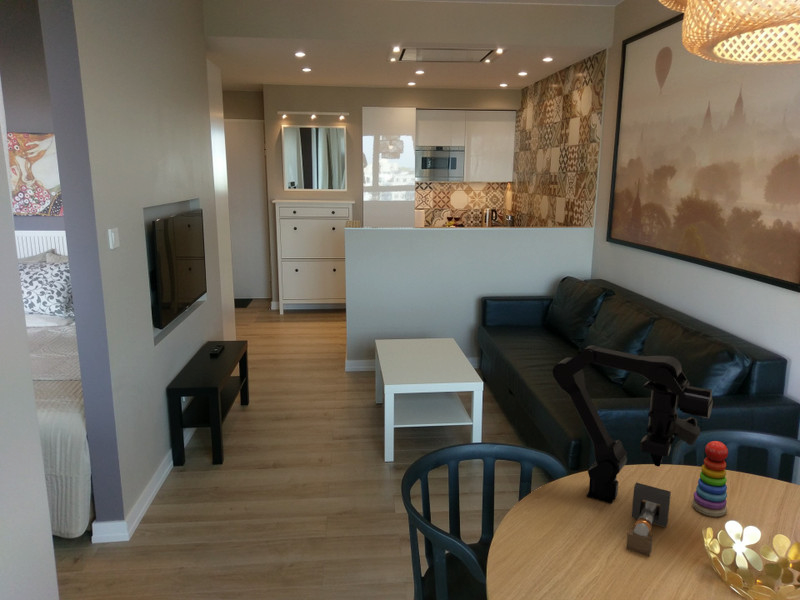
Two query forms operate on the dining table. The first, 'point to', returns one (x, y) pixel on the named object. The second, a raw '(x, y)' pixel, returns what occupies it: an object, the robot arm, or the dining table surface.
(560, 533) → the dining table surface
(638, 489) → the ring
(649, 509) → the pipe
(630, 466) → the dining table surface
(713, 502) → the stacking toy
